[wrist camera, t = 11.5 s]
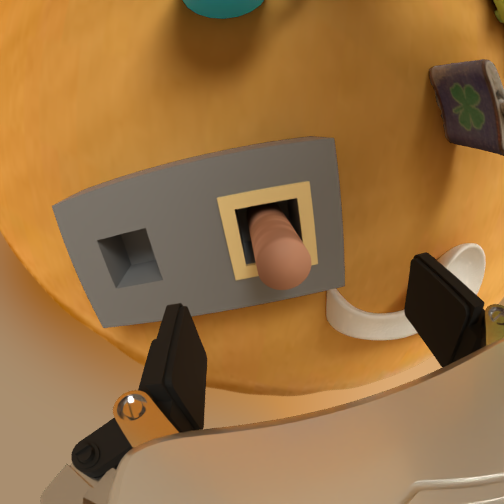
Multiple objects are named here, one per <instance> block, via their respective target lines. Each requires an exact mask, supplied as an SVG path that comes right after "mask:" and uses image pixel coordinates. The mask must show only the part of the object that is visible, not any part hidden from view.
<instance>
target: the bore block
mask: <svg viewBox="0 0 504 504" xmlns="http://www.w3.org/2000/svg"><path fill="white" fill-rule="evenodd" d="M272 202H276V203H277V204H278V205H279V207H280V208H281V210H282V211H283V213H284V214H285V216H286V217H287V219H288V220H289V222H290V224H291V225H292V227H293V228H294V230H295V231H296V233H297V234H298V236H299V238H300V239H301V241H302V242H303V244H304V246H305V247H306V249H307V250H308V252H309V254H310V257H311V270H310V272H309V274H308V276H307V278H306V279H305V280H304V281H303V282H302V283H301V284H299V285H298V286H296V287H294V288H291V289H288V290H276V289H273V288H270V287H268V286H267V285H265V284H264V283H263V282H262V281H261V279H260V277H259V275H258V272H257V267H256V262H255V257H254V252H253V246H252V241H251V236H250V231H249V226H248V221H247V209H248V207H250V206H256V205H261V204H266V203H272ZM52 208H53V211H54V214H55V217H56V220H57V223H58V226H59V229H60V232H61V235H62V237H63V240H64V243H65V245H66V248H67V251H68V253H69V256H70V258H71V261H72V263H73V266H74V268H75V270H76V273H77V275H78V277H79V279H80V282H81V284H82V286H83V288H84V290H85V293H86V295H87V297H88V299H89V301H90V303H91V305H92V307H93V309H94V311H95V313H96V315H97V317H98V319H99V321H100V322H101V324H102V326H103V328H108V327H117V326H125V325H134V324H141V323H149V322H156V321H162V319H163V316H164V312H165V309H166V306H167V305H171V304H177V303H181V304H182V305H183V306H187V307H188V309H189V312H190V314H191V316H197V315H203V314H209V313H215V312H221V311H227V310H232V309H238V308H243V307H249V306H254V305H259V304H265V303H270V302H275V301H280V300H284V299H289V298H294V297H299V296H304V295H308V294H313V293H317V292H322V291H326V290H330V289H335V288H339V287H343V286H345V266H344V239H343V221H342V207H341V195H340V184H339V174H338V165H337V156H336V148H335V141H334V138H327V137H313V136H309V137H301V138H293V139H286V140H279V141H273V142H266V143H260V144H254V145H249V146H243V147H238V148H233V149H228V150H223V151H218V152H213V153H209V154H204V155H200V156H196V157H191V158H187V159H183V160H179V161H175V162H171V163H167V164H164V165H160V166H156V167H153V168H149V169H146V170H142V171H139V172H136V173H132V174H129V175H126V176H123V177H119V178H116V179H113V180H110V181H107V182H104V183H101V184H98V185H96V186H93V187H90V188H87V189H84V190H82V191H80V192H78V193H76V194H74V195H72V196H70V197H68V198H66V199H64V200H62V201H60V202H59V203H57V204H55V205H53V206H52Z"/></svg>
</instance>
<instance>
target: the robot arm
mask: <svg viewBox="0 0 504 504" xmlns="http://www.w3.org/2000/svg"><path fill="white" fill-rule="evenodd" d="M483 306H484V302H483V301H482V300H481V299H480V298H479V297H478V296H477V295H476V294H475V293H474V292H473V291H471V290H470V289H469V288H468V287H467V286H466V285H465V284H464V283H463V282H462V281H460V280H459V279H458V278H457V277H456V276H455V275H454V274H452V273H451V272H450V271H449V270H448V269H447V268H445V267H444V266H443V265H442V264H441V263H439V262H438V261H437V260H436V259H435V258H433V257H432V256H431V255H430V254H428V253H422V254H418V255H415V256H414V258H413V259H412V261H411V265H410V274H409V282H408V289H407V296H406V302H405V308H404V313H405V316H406V318H407V319H408V320H409V322H410V323H411V324H412V326H413V327H414V328H415V330H416V331H417V332H418V334H419V335H420V337H421V338H422V339H423V341H424V342H425V343H426V345H427V346H428V348H429V349H430V350H431V352H432V353H433V355H434V356H435V357H436V359H437V361H438V362H439V363H440V365H441V366H442V367H443V368H441V369H439V370H436V371H434V372H432V373H430V374H427V375H425V376H423V377H420V378H418V379H416V380H413V381H411V382H408V383H406V384H403V385H400V386H398V387H395V388H392V389H390V390H387V391H384V392H381V393H378V394H375V395H372V396H369V397H366V398H363V399H360V400H357V401H354V402H350V403H346V404H343V405H339V406H335V407H332V408H328V409H324V410H320V411H316V412H312V413H307V414H303V415H298V416H293V417H288V418H284V419H277V420H271V421H265V422H259V423H253V424H246V425H239V426H230V427H222V428H212V429H204V430H202V429H203V427H204V407H205V389H206V372H207V356H206V352H205V350H204V347H203V345H202V343H201V340H200V338H199V335H198V333H197V330H196V327H195V325H194V322H193V320H192V317H191V314H190V312H189V309H188V307H187V306H183V305H182V304H181V303H177V304H171V305H167V306H166V309H165V312H164V316H163V319H162V322H161V326H160V329H159V333H158V336H157V339H154V340H153V341H152V343H151V346H150V349H149V353H148V356H147V360H146V363H145V367H144V371H143V374H142V378H141V382H140V386H139V389H138V391H136V390H135V391H129V392H127V393H125V394H123V395H122V396H120V397H119V398H118V399H117V401H116V402H115V404H114V407H113V414H114V417H115V418H113V419H112V420H110V421H109V422H108V423H106V424H105V425H103V426H102V427H100V428H99V429H98V430H96V431H95V432H93V433H92V434H91V435H89V436H87V437H86V438H84V439H83V440H81V441H80V442H79V443H78V444H77V445H76V446H75V448H74V449H73V451H72V462H73V463H72V464H71V465H70V466H69V465H68V464H66V465H65V467H64V468H63V469H62V470H61V471H60V473H59V474H58V475H57V476H56V477H55V478H54V480H53V481H52V482H51V483H50V484H49V486H48V487H47V488H46V489H45V490H44V492H43V493H42V495H41V500H40V501H41V504H504V306H502V305H499V304H493V305H490V306H488V307H487V308H486V310H484V309H483Z"/></svg>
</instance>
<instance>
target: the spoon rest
mask: <svg viewBox="0 0 504 504" xmlns="http://www.w3.org/2000/svg"><path fill="white" fill-rule="evenodd" d="M437 261H438V262H439V263H441V264H442V265H443V266H444V267H445V268H447V269H448V270H449V271H450V272H451V273H452V274H454V275H455V276H456V277H457V278H458V279H459V280H460V281H462V282H463V283H464V284H465V285H466V286H467V287H468V288H469V289H470V290H471V291H473V292H474V293H475V294H476V295H477V293H478V291H479V289H480V286H481V283H482V280H483V276H484V272H485V254H484V251H483V249H482V248H481V247H480V246H479V245H477V244H475V243H465V244H461V245H458V246H456V247H454V248H452V249H450V250H449V251H447V252H446V253H445V254H443V255H442V256H441V257H440V258H439V259H437ZM326 317H327V321H328V322H329V323H330V325H331V326H332V327H333V328H334V329H336V330H337V331H338V332H340V333H342V334H345V335H347V336H350V337H354V338H359V339H366V340H394V339H400V338H405V337H408V336H411V335H414V334H417V333H418V332H417V331H416V330H415V328H414V327H413V326H412V324H411V323H410V322H409V320H408V319H407V318H406V316H405V313H404V310H401V311H397V312H392V313H370V312H366V311H363V310H360V309H358V308H356V307H354V306H352V305H351V304H350V303H349V302H348V301H346V300H345V298H343V296H342V295H341V294H340V293H339V291H338V290H337V289H336V288H335V289H330V290H327V303H326Z"/></svg>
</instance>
